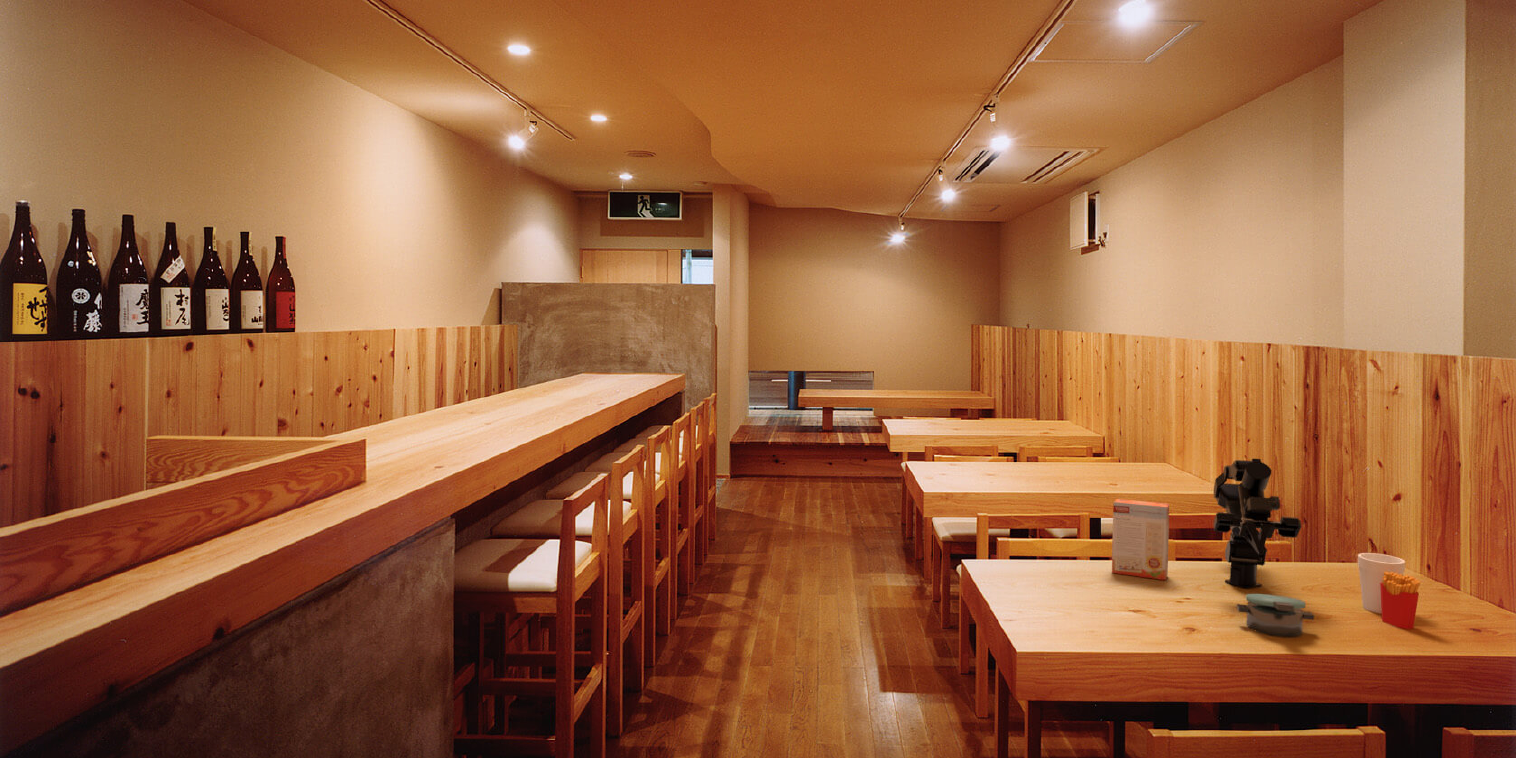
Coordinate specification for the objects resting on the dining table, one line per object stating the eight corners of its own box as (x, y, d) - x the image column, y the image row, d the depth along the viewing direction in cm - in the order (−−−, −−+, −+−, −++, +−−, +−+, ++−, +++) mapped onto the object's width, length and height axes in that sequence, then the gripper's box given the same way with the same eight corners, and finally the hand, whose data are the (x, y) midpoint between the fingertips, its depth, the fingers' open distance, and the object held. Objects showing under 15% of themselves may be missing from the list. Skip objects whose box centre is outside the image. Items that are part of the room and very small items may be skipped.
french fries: (1374, 618, 196) (1377, 569, 195) (1389, 617, 197) (1391, 569, 196) (1408, 631, 188) (1410, 580, 187) (1422, 630, 188) (1425, 579, 188)
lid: (1241, 596, 196) (1241, 591, 197) (1297, 601, 192) (1297, 596, 193) (1255, 607, 182) (1255, 602, 182) (1316, 613, 178) (1316, 608, 178)
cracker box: (1167, 575, 230) (1170, 502, 228) (1165, 581, 225) (1167, 507, 223) (1114, 567, 237) (1116, 497, 236) (1111, 573, 232) (1113, 501, 231)
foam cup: (1389, 618, 196) (1392, 565, 195) (1347, 606, 204) (1350, 556, 203) (1409, 612, 200) (1412, 560, 200) (1367, 600, 209) (1370, 551, 208)
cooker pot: (1232, 615, 198) (1232, 595, 198) (1303, 623, 193) (1304, 602, 193) (1242, 632, 187) (1242, 611, 187) (1318, 641, 182) (1319, 619, 182)
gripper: (1217, 481, 211) (1223, 533, 201) (1301, 486, 204) (1311, 540, 195) (1210, 505, 219) (1216, 556, 209) (1291, 510, 212) (1301, 563, 203)
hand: (1260, 553), depth 204 cm, fingers closed
